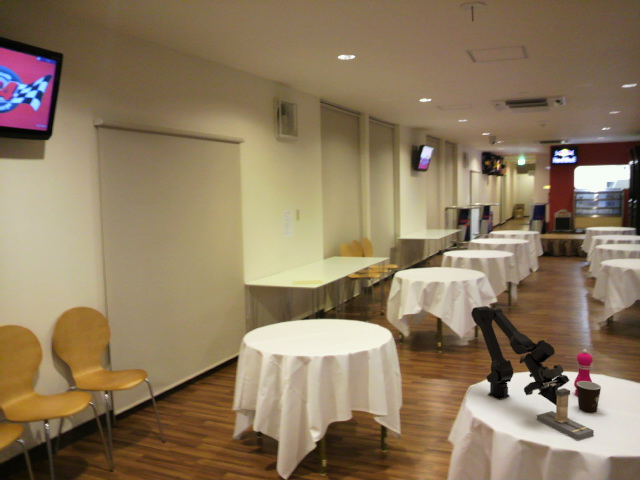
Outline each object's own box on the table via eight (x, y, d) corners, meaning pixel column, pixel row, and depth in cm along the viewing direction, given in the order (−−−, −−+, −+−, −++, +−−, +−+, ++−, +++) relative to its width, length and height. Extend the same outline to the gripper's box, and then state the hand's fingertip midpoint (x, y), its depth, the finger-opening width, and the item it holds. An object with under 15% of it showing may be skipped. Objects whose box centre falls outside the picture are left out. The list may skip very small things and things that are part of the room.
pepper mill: (595, 398, 219) (598, 352, 217) (578, 398, 219) (580, 352, 217) (587, 391, 226) (589, 346, 224) (570, 391, 227) (572, 346, 224)
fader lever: (553, 419, 195) (554, 390, 194) (562, 417, 197) (563, 387, 196) (560, 423, 192) (561, 392, 191) (569, 420, 194) (570, 390, 193)
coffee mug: (586, 415, 204) (587, 390, 203) (570, 406, 212) (571, 382, 211) (611, 411, 207) (612, 387, 206) (594, 403, 215) (595, 379, 214)
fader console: (536, 420, 200) (536, 414, 200) (551, 415, 203) (551, 410, 203) (577, 440, 184) (578, 434, 184) (593, 435, 187) (593, 430, 187)
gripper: (530, 361, 194) (554, 401, 185) (566, 354, 202) (590, 392, 193) (514, 375, 202) (536, 414, 193) (548, 368, 210) (571, 404, 201)
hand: (559, 406), depth 195 cm, fingers closed, pressing on fader lever
